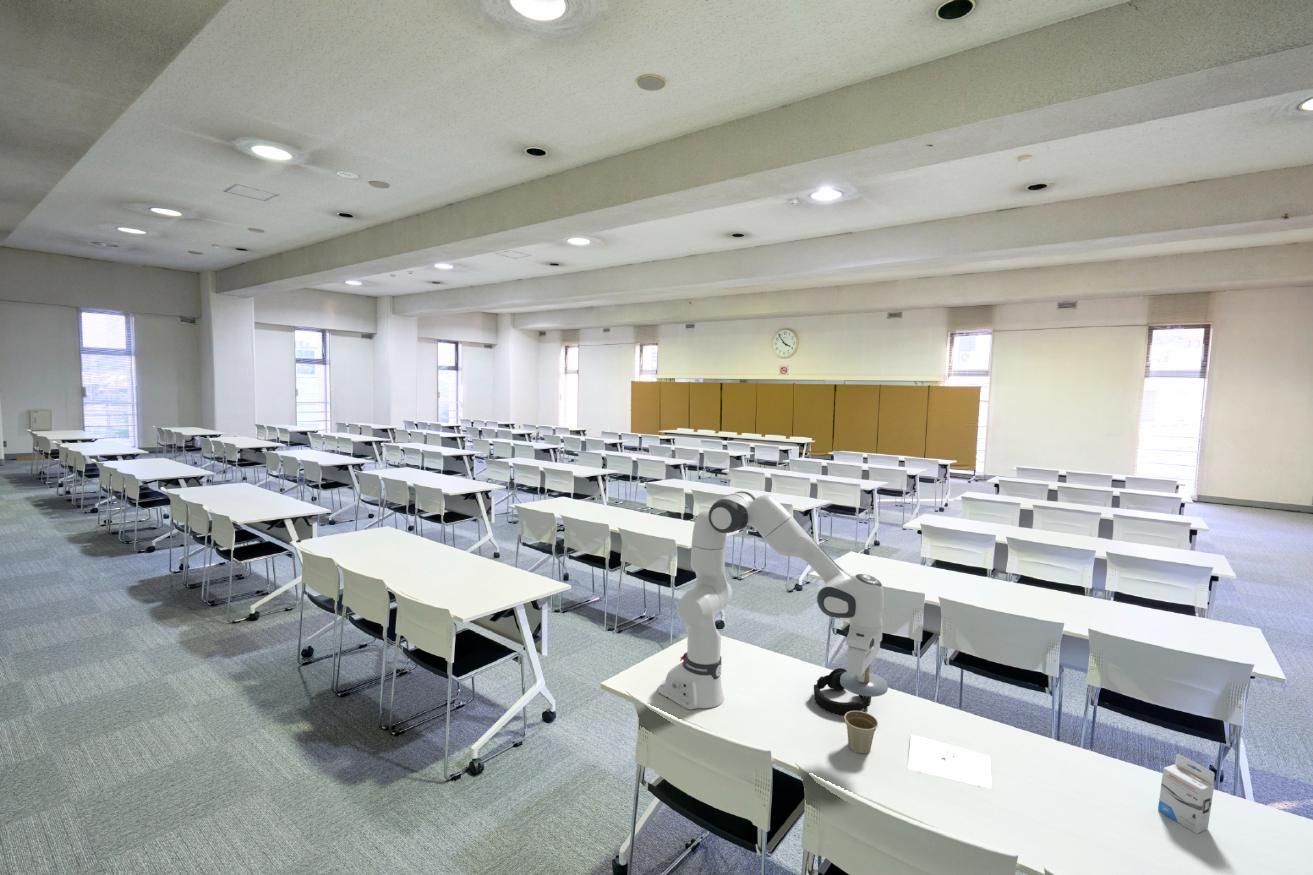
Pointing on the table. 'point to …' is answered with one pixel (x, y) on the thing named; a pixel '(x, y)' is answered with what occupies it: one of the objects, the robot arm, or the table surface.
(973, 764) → the paper sheet
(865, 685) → the lid
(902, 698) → the table surface
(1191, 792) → the ink box
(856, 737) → the flower pot
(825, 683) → the headphones
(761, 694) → the table surface
